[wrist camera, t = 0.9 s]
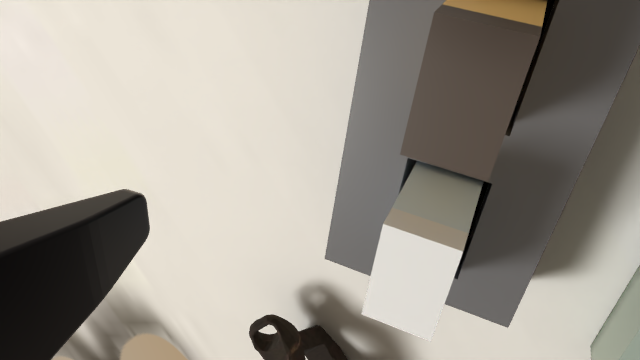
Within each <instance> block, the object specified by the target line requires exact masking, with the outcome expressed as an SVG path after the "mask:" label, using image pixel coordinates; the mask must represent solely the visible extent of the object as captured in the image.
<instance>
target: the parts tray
mask: <svg viewBox="0 0 640 360" xmlns="http://www.w3.org/2000/svg"><path fill="white" fill-rule="evenodd" d="M591 360H640V266H639V267H638V269H637V270H636V272H635V274H634V275H633V277H632V279H631V280H630V282H629V284H628V285H627V287H626V289H625V290H624V292H623V294H622V295H621V297H620V298H619V300H618V302H617V303H616V305H615V307H614V308H613V310H612V312H611V313H610V315H609V317H608V318H607V320H606V322H605V323H604V325H603V326H602V328H601V330H600V331H599V333H598V335H597V336H596V338H595V340H594V341H593V343H592V345H591Z"/></svg>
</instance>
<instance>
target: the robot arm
mask: <svg viewBox="0 0 640 360" xmlns="http://www.w3.org/2000/svg"><path fill="white" fill-rule="evenodd" d="M149 230H150V225H149V217H148V209H147V202H146V198H145V197H144V195H142V194H141V193H138V192H134V191H131V190H127V189H122V190H118V191H115V192H111V193H107V194H103V195H99V196H96V197H92V198H88V199H84V200H81V201H77V202H73V203H69V204H66V205H62V206H58V207H54V208H51V209H47V210H43V211H39V212H35V213H32V214H28V215H24V216H20V217H17V218H13V219H9V220H5V221H2V222H0V360H51V359H52V358H53V357H54V355H55V354H56V353H57V352H58V351H59V350H60V349H61V347H62V346H63V345H64V344H65V343H66V342H67V341H68V339H69V338H70V337H71V336H72V335H73V334H74V333H75V331H76V330H77V329H78V328H79V327H80V326H81V325H82V323H83V322H84V321H85V320H86V319H87V318H88V317H89V315H90V314H91V313H92V312H93V311H94V310H95V309H96V307H97V306H98V305H99V304H100V303H101V301H102V300H103V299H104V298H105V296H106V295H107V294H108V292H109V291H110V290H111V288H112V287H113V286H114V284H115V283H116V281H117V280H118V279H119V277H120V276H121V274H122V273H123V272H124V270H125V269H126V267H127V266H128V265H129V263H130V262H131V260H132V259H133V258H134V256H135V255H136V253H137V252H138V251H139V249H140V248H141V246H142V245H143V244H144V242H145V241H146V239H147V237H148V234H149Z"/></svg>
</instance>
